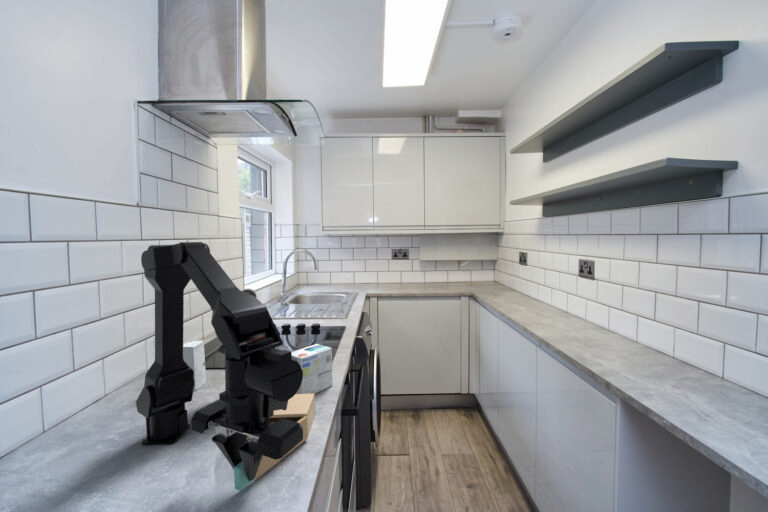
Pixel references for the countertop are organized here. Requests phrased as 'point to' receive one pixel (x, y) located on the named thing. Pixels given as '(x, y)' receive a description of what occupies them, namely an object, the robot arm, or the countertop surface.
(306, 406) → the kraft carton
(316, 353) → the light bulb box
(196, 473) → the countertop surface
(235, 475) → the carton flap
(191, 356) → the skincare box
